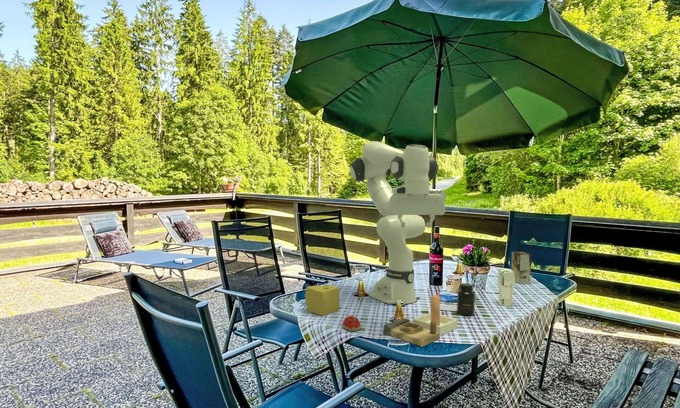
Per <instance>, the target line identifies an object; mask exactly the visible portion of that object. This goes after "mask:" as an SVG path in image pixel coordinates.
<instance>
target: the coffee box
mask: <svg viewBox="0 0 680 408" xmlns="http://www.w3.org/2000/svg"><path fill="white" fill-rule="evenodd" d="M531 261H532V254H531V253H527V252H524V251H511V264H510V265H511V269H510V270H513V271H514V274H515V283H517V284H519V285H529V284H530V285H531V271H532V270H531V267H532V266H531V265H532V264H531V263H532V262H531Z"/></svg>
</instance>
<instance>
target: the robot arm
mask: <svg viewBox="0 0 680 408" xmlns="http://www.w3.org/2000/svg"><path fill="white" fill-rule="evenodd" d="M361 154H362V156H361V157H357V158H355V160H353V161H352V162H351V163H350V165H349V173H350V176H351V177H352V178H353V180H354V181H355V182H357V183H359V182H364V181H366V185H365V186H366V189H367V192H368V195H369V196H370V199H371V201H372V202H373V204H374V206H375V208H376V210H377V211H378V213H379V214H380V215H382V216H383V217H381V218H379V220H378V221H377V223H376V232H377V233H376V234H377V235H378V236H379V237H380V238H381V239H382V241H384V243H385V245H386V248H387V252H388V268H386V269H384V270H383V272H384V273H385V276H383V277H381V279H379V280H377V281H376V283H375V284H374V288H373V291H371V292H369V294H368V296H369V297H372V298H373V299H376V300H379V301H380V302H383V303H386V304H396V303H395V301H397V300H401V301H402V302H403V305H404V304H412V303H415V302H416V301H417V297H416V292H415V285H414V279H415V268H414V252H413V251H412V249H411V248H410V247H408V245H407V241H406V239H413V238H416V237H419V236H422V235H423V234H424V232H425V230H426V228H428V229H432V225H433V222H434V221H435V218H436V216H444V215H445V213H446V205H445V201H446V195H447V194H446V192H445V191H444V190H442V189H440V188H439V189H432V188H431V189H430V182H432V180H433V179H434V178H436V177H437V175H438V173H439V164H438V163H439V162H437V160H436V159H435V157H434V156H433V155H430V153H429V148H428V147H427V146H426V145H423V144H412V143H411V144H408V145H406V147H405V149H404V151H403V150H402V149H401V150H400V149H398V148H396V147H394V146H390V145H388V144H386V143H384V142H382V141H376V140H375V141H373V140H372V141H369V142H367V143H366V144H364V146H363V147H362V153H361ZM390 175H391V176H392V177H393V179H395V180H396V181H397V180H398V181H404V182H403V183H404V184H402V185H398V186H397V187H393V188H392V186H391V185H390V183H389V182H388V181H387V177H386V176H390ZM422 216H429V218H430V220H429V221H427V222H426V221H425V220H424V218H423V217H422Z"/></svg>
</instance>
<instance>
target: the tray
mask: <svg viewBox="0 0 680 408" xmlns="http://www.w3.org/2000/svg"><path fill="white" fill-rule="evenodd" d="M430 322H431V312H429V313H427V314H423V315H420V316H417V317H415V318H413V323H415V324H418V325H421V326H423V328H425V329H429V330H430ZM456 329H458V319H456V318H452V317H449V316H445V315H441V314H440V326H437V325H436V332H438V333H439V337H441V336H443V335H444V334H445V335H446V334H447V333H449V332H451V331H452V332H453V331H454V330H456Z"/></svg>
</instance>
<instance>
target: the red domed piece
mask: <svg viewBox="0 0 680 408" xmlns="http://www.w3.org/2000/svg"><path fill="white" fill-rule="evenodd" d="M342 327H343V328H344V329H345V330H347V331H350V332H357V331H359V330H361V328H362V324H361V321H360V320H359V319H358V317H355V316H354V315H348V316H345V318H344V320H343V322H342Z"/></svg>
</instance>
